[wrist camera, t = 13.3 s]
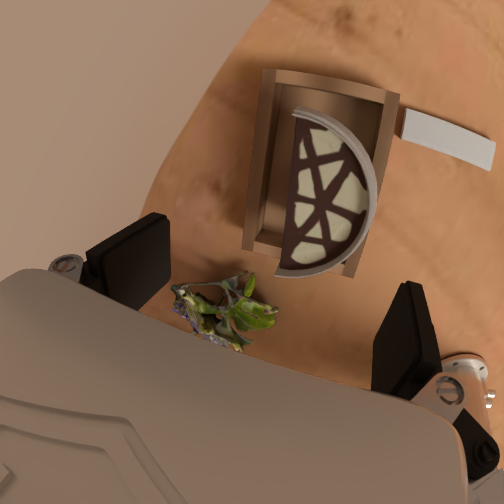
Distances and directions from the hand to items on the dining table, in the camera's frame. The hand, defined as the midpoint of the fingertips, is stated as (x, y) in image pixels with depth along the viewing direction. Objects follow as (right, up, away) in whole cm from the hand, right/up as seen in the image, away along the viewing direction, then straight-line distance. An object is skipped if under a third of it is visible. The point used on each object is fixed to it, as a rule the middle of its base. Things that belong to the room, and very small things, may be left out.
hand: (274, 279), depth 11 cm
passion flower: (-3, -4, +27) cm, 27 cm away
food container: (+7, +8, +15) cm, 19 cm away
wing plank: (+18, +12, +11) cm, 24 cm away
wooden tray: (+6, +9, +16) cm, 19 cm away
